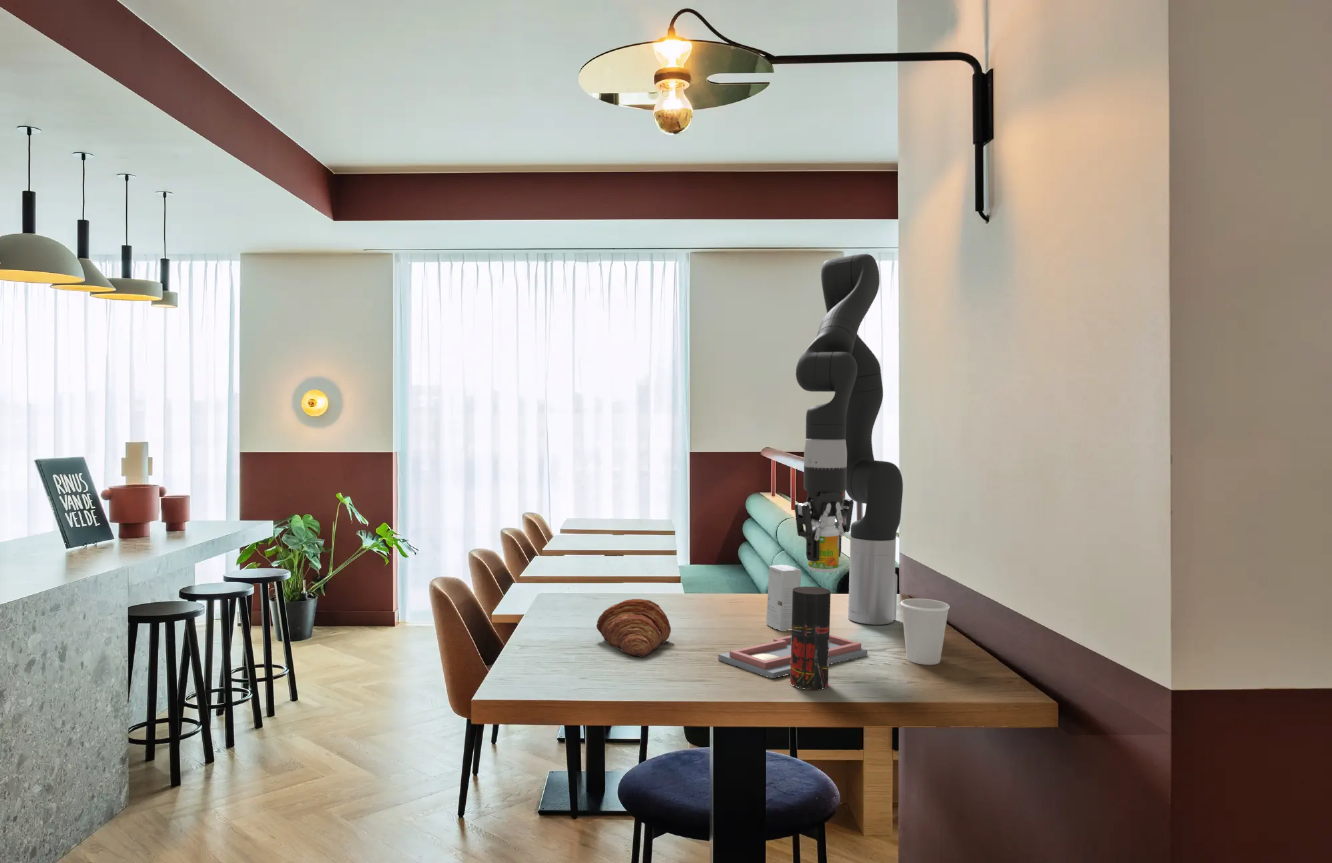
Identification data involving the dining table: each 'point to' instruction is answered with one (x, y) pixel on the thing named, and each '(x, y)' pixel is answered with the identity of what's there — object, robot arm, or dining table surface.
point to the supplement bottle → (827, 548)
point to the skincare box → (781, 595)
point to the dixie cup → (924, 629)
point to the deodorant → (810, 637)
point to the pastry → (634, 626)
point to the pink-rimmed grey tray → (785, 655)
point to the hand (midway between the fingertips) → (823, 558)
